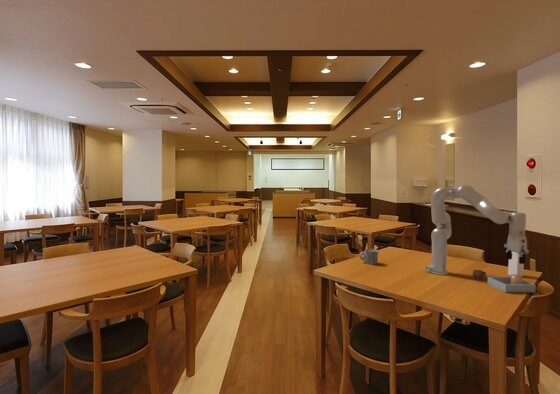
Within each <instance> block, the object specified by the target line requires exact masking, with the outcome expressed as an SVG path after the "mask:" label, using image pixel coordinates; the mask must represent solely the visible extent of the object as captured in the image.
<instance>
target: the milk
mask: <svg viewBox="0 0 560 394" xmlns="http://www.w3.org/2000/svg"><path fill="white" fill-rule="evenodd" d="M511 253H512V259H508V266H507V267H508V268H507V275H509V276H511V274H516V275H520V276H522V277H524V268H525V267H524V265H525V264H520V263H519V257H520V255H519V253H516V252H513V251H512V252H511ZM521 254H522V253H521Z"/></svg>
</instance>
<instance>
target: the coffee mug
mask: <svg viewBox="0 0 560 394" xmlns="http://www.w3.org/2000/svg"><path fill="white" fill-rule="evenodd" d="M362 255H363V257H362ZM378 255H379V251H378V249H374V248H365V249H364V251H361V252H360V253H359V258H360V260H362V261H363V264H365V265H371V266H375V265H378Z"/></svg>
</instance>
